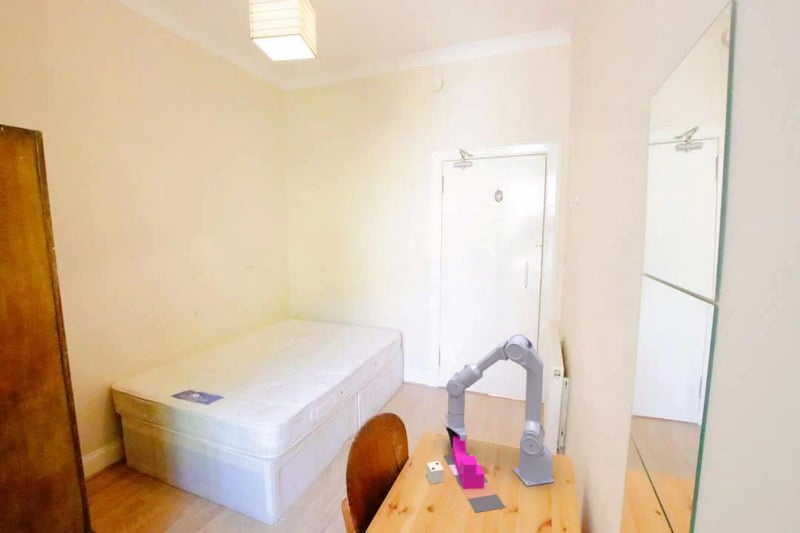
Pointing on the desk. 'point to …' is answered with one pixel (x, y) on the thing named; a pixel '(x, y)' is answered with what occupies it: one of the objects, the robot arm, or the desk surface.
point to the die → (435, 472)
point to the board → (478, 492)
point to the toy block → (467, 466)
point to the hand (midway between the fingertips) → (454, 448)
